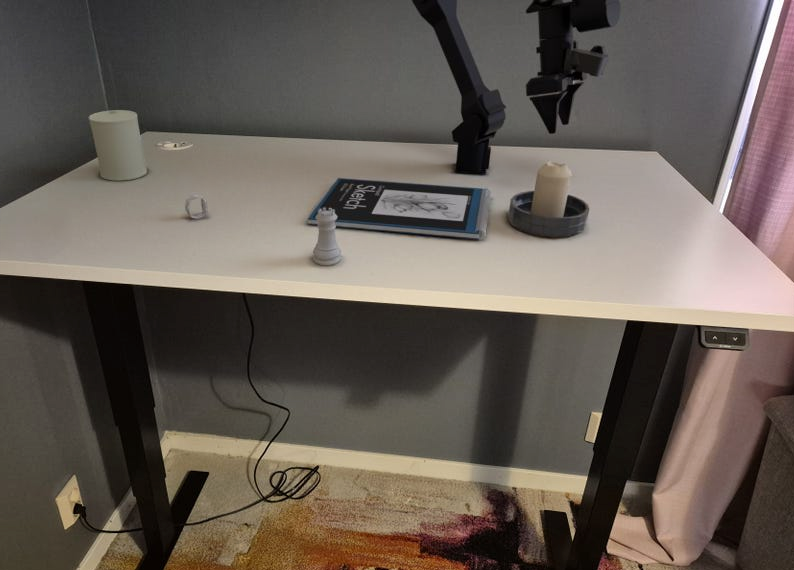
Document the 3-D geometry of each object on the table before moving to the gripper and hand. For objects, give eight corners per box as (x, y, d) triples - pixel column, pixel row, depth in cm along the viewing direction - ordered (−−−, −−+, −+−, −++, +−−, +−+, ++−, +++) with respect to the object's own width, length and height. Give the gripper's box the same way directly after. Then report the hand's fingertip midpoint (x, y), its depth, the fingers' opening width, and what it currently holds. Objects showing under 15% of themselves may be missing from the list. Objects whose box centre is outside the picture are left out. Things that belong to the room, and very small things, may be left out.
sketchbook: (338, 184, 127) (338, 174, 126) (490, 197, 121) (492, 186, 120) (307, 224, 109) (307, 213, 108) (484, 242, 104) (486, 230, 103)
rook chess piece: (312, 254, 100) (310, 205, 95) (340, 253, 100) (340, 204, 96) (313, 267, 96) (311, 216, 91) (342, 266, 96) (342, 216, 92)
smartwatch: (188, 221, 110) (185, 199, 108) (185, 217, 112) (182, 195, 110) (209, 218, 112) (206, 196, 109) (205, 213, 113) (202, 192, 111)
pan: (508, 235, 106) (511, 214, 104) (507, 207, 117) (510, 188, 115) (588, 241, 104) (593, 221, 102) (580, 212, 115) (584, 193, 113)
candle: (566, 218, 111) (578, 161, 106) (556, 229, 107) (567, 170, 102) (535, 212, 114) (545, 156, 108) (524, 221, 110) (534, 164, 104)
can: (146, 164, 136) (135, 106, 129) (148, 178, 129) (138, 117, 122) (100, 168, 133) (87, 109, 127) (100, 182, 126) (87, 120, 119)
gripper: (591, 32, 101) (593, 134, 107) (615, 25, 115) (615, 115, 121) (522, 44, 107) (527, 140, 113) (552, 36, 121) (555, 122, 127)
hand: (559, 129), depth 119 cm, fingers open, 9 cm apart
